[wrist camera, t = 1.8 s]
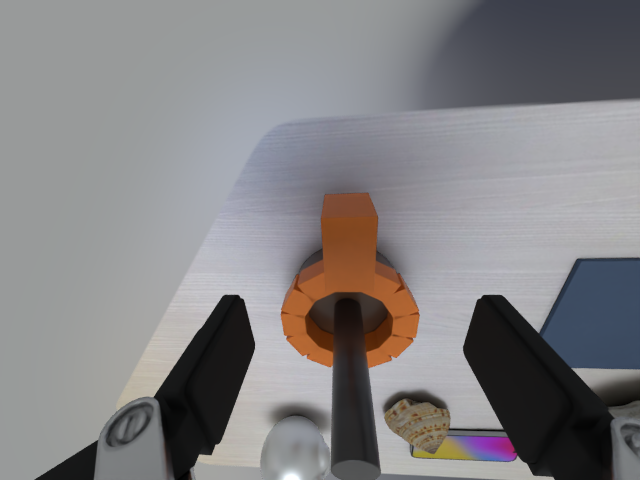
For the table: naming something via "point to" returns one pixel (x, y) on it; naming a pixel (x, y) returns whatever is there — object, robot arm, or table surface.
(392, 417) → the seashell
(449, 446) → the smartphone
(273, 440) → the baroque pearl
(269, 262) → the table surface
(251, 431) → the table surface
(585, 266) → the mat
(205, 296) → the table surface
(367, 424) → the stake
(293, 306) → the ring
